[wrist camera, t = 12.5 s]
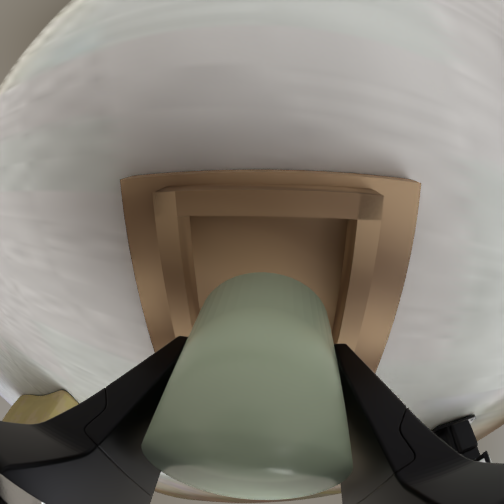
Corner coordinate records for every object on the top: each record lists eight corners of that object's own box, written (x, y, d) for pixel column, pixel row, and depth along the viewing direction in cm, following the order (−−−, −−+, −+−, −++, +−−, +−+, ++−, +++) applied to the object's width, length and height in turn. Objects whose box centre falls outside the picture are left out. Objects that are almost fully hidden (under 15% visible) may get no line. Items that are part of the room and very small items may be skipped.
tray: (344, 424, 19) (347, 449, 17) (185, 416, 20) (177, 439, 18) (410, 179, 11) (437, 189, 9) (132, 176, 13) (102, 185, 10)
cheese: (40, 415, 31) (8, 468, 17) (7, 377, 27) (-33, 429, 14) (114, 436, 26) (76, 520, 12) (66, 387, 23) (9, 478, 9)
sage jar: (319, 374, 10) (328, 499, 5) (207, 368, 10) (170, 485, 5) (337, 273, 8) (384, 428, 3) (192, 269, 9) (108, 405, 4)
